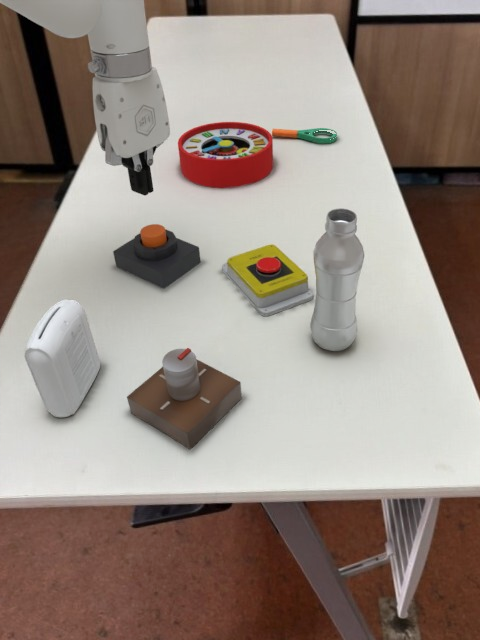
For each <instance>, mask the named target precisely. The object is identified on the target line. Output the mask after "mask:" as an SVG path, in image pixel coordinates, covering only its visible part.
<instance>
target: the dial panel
mask: <svg viewBox="0 0 480 640" xmlns="http://www.w3.org/2000/svg"><path fill="white" fill-rule="evenodd" d="M196 360H197V367H198V374H199V382H200V391H199V393H198V394H197V395H196V396H195V397H194V398H192V399H190V400H186V401H179V400H175V399H173V398H172V397H170V395H169V393H168V389H167V384H166V379H165V374H164V369H163V366H162V367H161V368H159V369H158V370H157V371H155V372H154V373H153V374H152V375H151V376H150V377H149V378H147V379H146V380H145V381H144V382H142V383H141V384H140V385H139V386H138V387H137V388H135V389H134V390H133V391H132V392H131V393H129V394H128V395H127V396H126V399H127V404H128V407H129V410H130V413H131V414H132V415H134V416H136V417H137V418H139V419H140V420H141V421H144V422H145V423H147V424H149V425H150V426H151V427H153V428H154V429H157V430H158V431H159V432H161V433H163V434H165V435H167V436H168V437H170V438H171V439H173V440H174V441H176V442H178V443H179V444H181V445H183V446H184V447H186V448H188V449H189V450H191V449H193V447H194V446H196V445H197V443H198V442H199V441H201V440H202V439H203V437H204V436H205V435H206V434H208V432H209V431H210V430H212V428H214V426H215V425H216V424H218V422H220V420H221V419H223V418H224V416H225V415H226V414H227V413H228V412H230V411H231V409H232V408H234V407H235V405H236V404H237V403H238V402H239V401H240V400H242V398H243V397H242V383H241V381H240V380H237V379H236V378H234V377H232V376H230V375H228V374H226V373H224V372H222V371H220V370H218V369H216V368H215V367H213V366H210V365H209V364H208V363H207V364H206V363H205V362H204V361H201V360H199V359H198V358H196Z"/></svg>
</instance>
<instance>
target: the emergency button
mask: <svg viewBox="0 0 480 640" xmlns="http://www.w3.org/2000/svg"><path fill="white" fill-rule="evenodd" d="M221 271H222V273H223V274H224V276H226V277H227V279H228V280H229V281H230V282H231V283H232V285H234V286H235V288H237V290H238V291H239V292H240V293H241V294H242V295H243V297H245V298H246V300H247V301H248V302H249V303H250V304H251V305H252V306H253V308H254V309H255V310H256V311H257V312H258V313H259V315H260V316H262V317H270V316H273V315H276V314H279V313H282V312H284V311H287V310H289V309H292V308H294V307H297V306H299V305H302V304H304V303H305V304H306V303H308V302H310V301H312V300H313V299H314V292H313V290H311V288H309V276H308V274H307V273H306V272H305V271H304V270H303V269H301V268H300V267H299V266H298V265H297V264H296V263H295V262H294V261H293V260H292V259H291V258H290V257H289V256H287V254H285V252H283V250H281V249H280V248H279V247H278V246H277V245H276V244H267V245H264V246H260V247H258V248H254V249H252V250H249V251H248V250H247V251H245V252H242V253H239V254H236V255H234V256H229V258H227V261H226V263H224V264H222V265H221Z"/></svg>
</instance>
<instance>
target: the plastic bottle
mask: <svg viewBox="0 0 480 640" xmlns="http://www.w3.org/2000/svg"><path fill="white" fill-rule="evenodd" d="M357 222H358V216H357V214H356V212H355V211H353V210H351V209H348V208H334V209H331V210H329V211H328V212H327V213H326V219H325V224H324V230H325V232H324V233H323V234H322V235H321V237H320V238H318V240H317V241H316V243H315V245H314V248H313V251H312V252H313V253H312V254H313V265H314V273H315V293H316V294H315V301H314V307H313V313H312V316H311V319H310V324H309V325H310V326H309V327H310V328H309V329H310V332H311V337H312V340H313V341H314V342H315V344H317V345H318V347H320V348H322V349H323V350H325V351H329V352H340V351H344V350H346V349H348V347H350V346H351V345H352V344H353V343H354V342H355V339H356V336H357V333H358V320H357V314H356V313H357V311H356V309H357V304H356V303H357V299H356V298H357V291H358V286H359V280H360V276H361V272H362V269H363V265H364V261H365V251H364V246H363V243H362V242H361V240H360V238H359V237H358V236H357V235H356V233H357V231H358V225H357Z"/></svg>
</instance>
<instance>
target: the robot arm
mask: <svg viewBox="0 0 480 640" xmlns="http://www.w3.org/2000/svg"><path fill="white" fill-rule="evenodd" d="M144 1H145V0H0V4H1V5H3V6H5V7H6V8H9V9H10V10H12V11H14V12H16V13H18V14H20V16H23V17H25V18H27V20H30V21H31V22H33V23H35V24H36V25H38V26H40V27H42V28H44V29H46V30H47V31H49V32H51V33H52V34H54V35H56V36H58V37H61V38H66V39H77V38H82V37H85V36H86V35H87V38H88V44H89V49H90V54H91V55H90V56H91V61H88V63H87V68H88V71H89V72H90V73H91V74H94V76H93V78H92V104H93V106H92V107H93V116H94V122H95V129H96V135H97V139H98V143H99V146H100V149H101V150H102V151H103V152H105V153H104V155H105V156H104V160H105V164H107V165H110V166H111V167H116V166H122V167H123V168H126V169H127V173H128V180H129V186H130V190H131V191H132V192H134V193H137V194H139V195H142V196H147V195H149V194H152V193H153V192H154V185H153V178H152V171H151V166H153V164H154V155H155V153H156V150H157V149H158V148H160V146H161V145H163V144H164V143H165V142H166V140H168V139H169V138H170V135H171V128H170V126H171V125H170V117H169V112H168V107H167V102H166V96H165V92H164V88H163V84H162V81H161V78H160V75H159V72H158V69H157V68H156V67H155V66H153V64H152V57H151V47H150V42H149V41H150V40H149V34H148V33H149V32H148V25H147V17H146V9H145V2H144Z"/></svg>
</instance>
